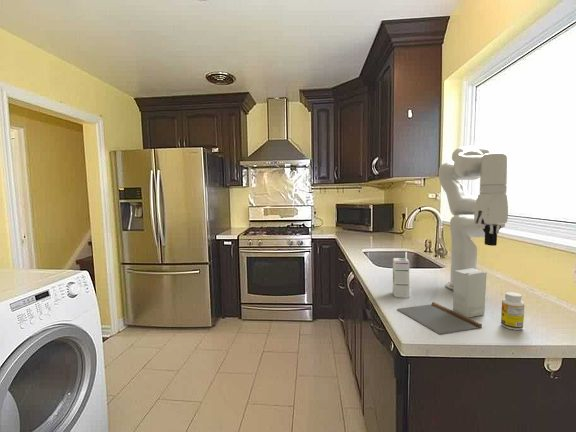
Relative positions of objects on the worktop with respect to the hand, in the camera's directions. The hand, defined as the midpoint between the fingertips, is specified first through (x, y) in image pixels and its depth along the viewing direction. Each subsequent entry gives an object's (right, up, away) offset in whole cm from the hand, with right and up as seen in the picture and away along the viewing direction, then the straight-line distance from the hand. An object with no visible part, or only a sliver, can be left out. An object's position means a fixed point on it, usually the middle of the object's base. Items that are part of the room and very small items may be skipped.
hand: (490, 244), depth 106 cm
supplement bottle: (0, -24, -10) cm, 26 cm away
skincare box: (-8, -23, 0) cm, 25 cm away
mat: (-21, -24, -4) cm, 32 cm away
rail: (-13, -23, -2) cm, 27 cm away
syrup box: (-24, -22, +19) cm, 37 cm away
